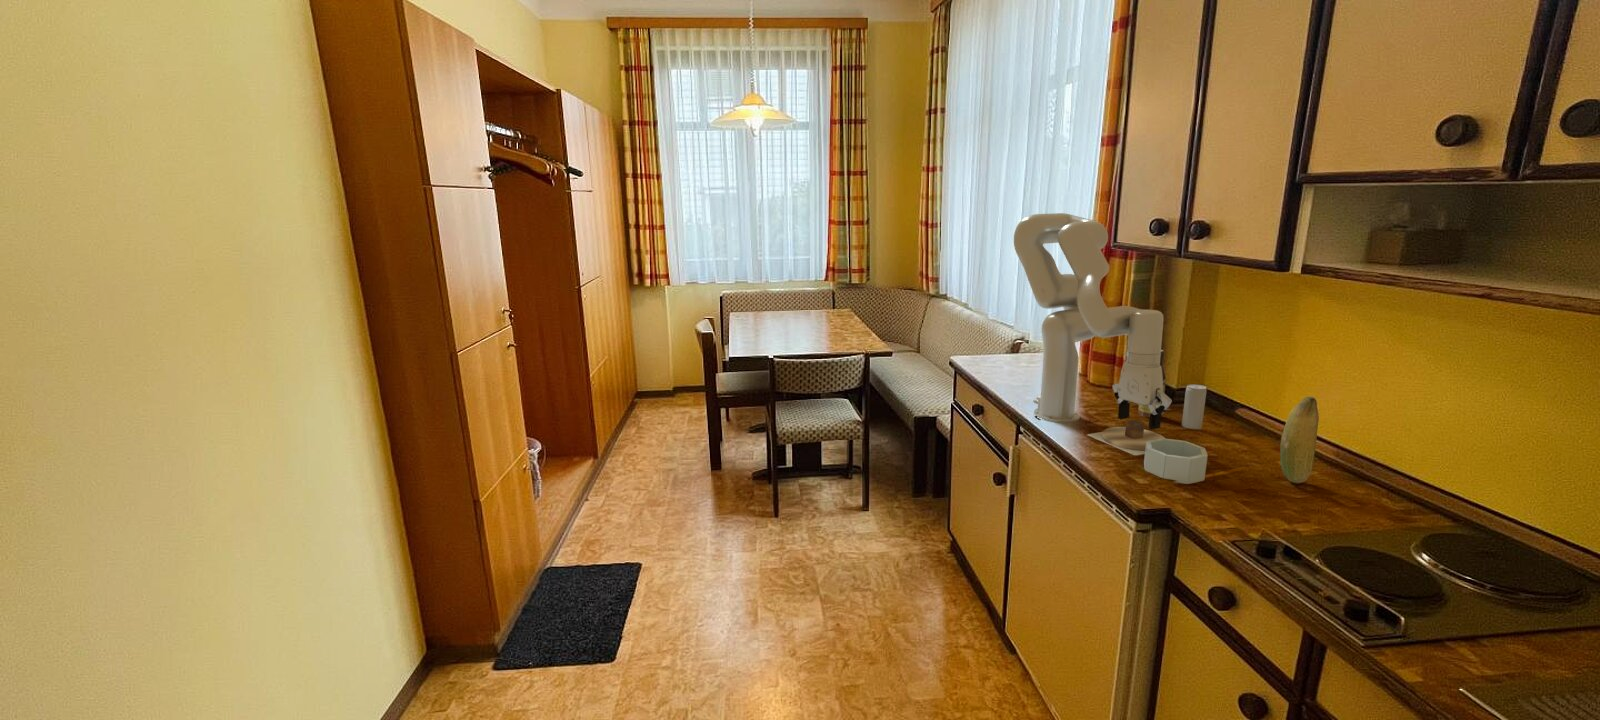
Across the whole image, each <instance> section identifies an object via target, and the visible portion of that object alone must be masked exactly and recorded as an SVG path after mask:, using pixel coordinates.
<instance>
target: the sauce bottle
mask: <svg viewBox="0 0 1600 720" xmlns="http://www.w3.org/2000/svg"><path fill="white" fill-rule="evenodd" d="M1164 356H1165V350H1164V349H1161V356H1160V366H1161V368H1162V376H1163V393H1165V391H1166V381H1167V380H1166V373H1165V369H1164V366H1163V361H1164V359H1163V358H1164ZM1160 404H1161V405H1162V401H1161V403H1160ZM1154 406H1155V405H1154ZM1155 408H1156V406H1155ZM1137 409H1138V415H1139V416H1141V417H1144V418H1149V417H1150V414H1152V412H1151V410H1150V408H1149V406H1143V405H1139V404H1138V408H1137ZM1156 409H1157V408H1156ZM1162 415H1163V413H1162V414H1161V416H1162Z"/></svg>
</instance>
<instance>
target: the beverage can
mask: <svg viewBox="0 0 1600 720" xmlns="http://www.w3.org/2000/svg"><path fill="white" fill-rule="evenodd" d="M1207 391H1208V390H1207V386H1204V385H1201V384H1193V383H1192V384H1191V383H1190V384H1187V385H1186V388H1185V393H1184V403H1183V411H1182V419H1181V426H1182V427H1183V428H1185V429H1189V430H1201V429H1202V427H1203V419H1204V412H1205V405H1206V397H1207Z"/></svg>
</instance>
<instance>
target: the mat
mask: <svg viewBox="0 0 1600 720" xmlns="http://www.w3.org/2000/svg"><path fill="white" fill-rule="evenodd" d="M1102 432H1103V431H1100V432H1099V431H1098V432H1094V433H1093V432H1092V433H1088V434H1086V436H1088V437H1090V438H1093V439H1095V440H1097V441H1099V442H1102V443H1104V444H1107V445H1109V446H1111V447H1114V448H1115V449H1119V450H1121V451H1123V452H1125V453H1127V454H1130V455H1133V456H1141V455H1145V451H1138V450H1130V449H1125V448H1121V447H1117V446H1114V445H1112V444H1110V443H1108V442H1106V441H1105V440H1104V439H1103V438H1102Z"/></svg>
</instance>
